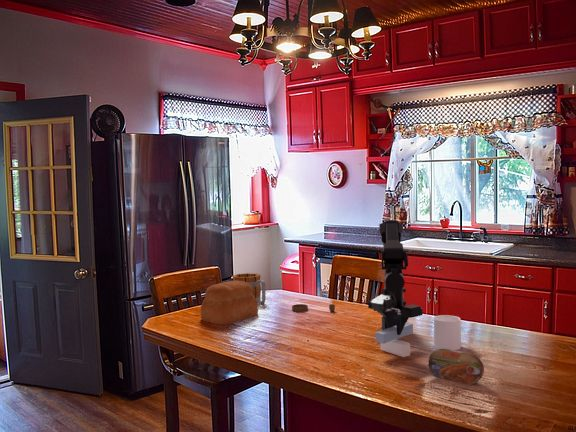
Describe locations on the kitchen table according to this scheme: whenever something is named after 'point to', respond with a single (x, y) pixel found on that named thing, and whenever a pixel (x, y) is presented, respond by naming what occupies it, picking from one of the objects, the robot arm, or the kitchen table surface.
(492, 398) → the kitchen table surface
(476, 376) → the tin
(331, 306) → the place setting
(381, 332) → the bar
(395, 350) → the fulcrum
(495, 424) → the kitchen table surface
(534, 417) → the kitchen table surface
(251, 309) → the bread
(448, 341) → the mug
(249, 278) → the mug
